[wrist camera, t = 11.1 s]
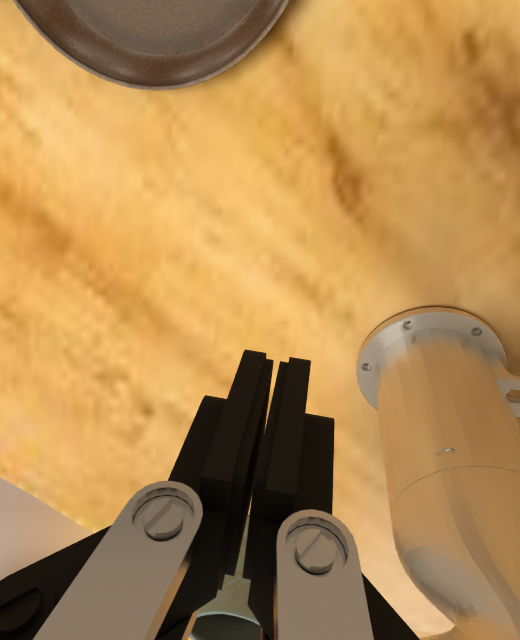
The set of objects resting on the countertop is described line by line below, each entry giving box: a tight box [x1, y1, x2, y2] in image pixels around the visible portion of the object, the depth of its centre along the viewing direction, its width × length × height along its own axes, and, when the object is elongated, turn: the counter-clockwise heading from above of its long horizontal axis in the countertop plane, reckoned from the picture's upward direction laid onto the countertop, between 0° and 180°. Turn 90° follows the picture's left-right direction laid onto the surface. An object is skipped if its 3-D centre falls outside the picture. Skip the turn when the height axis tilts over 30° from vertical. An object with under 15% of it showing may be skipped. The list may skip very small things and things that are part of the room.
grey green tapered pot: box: [189, 515, 261, 640], centre depth 52 cm, size 10×10×12 cm
